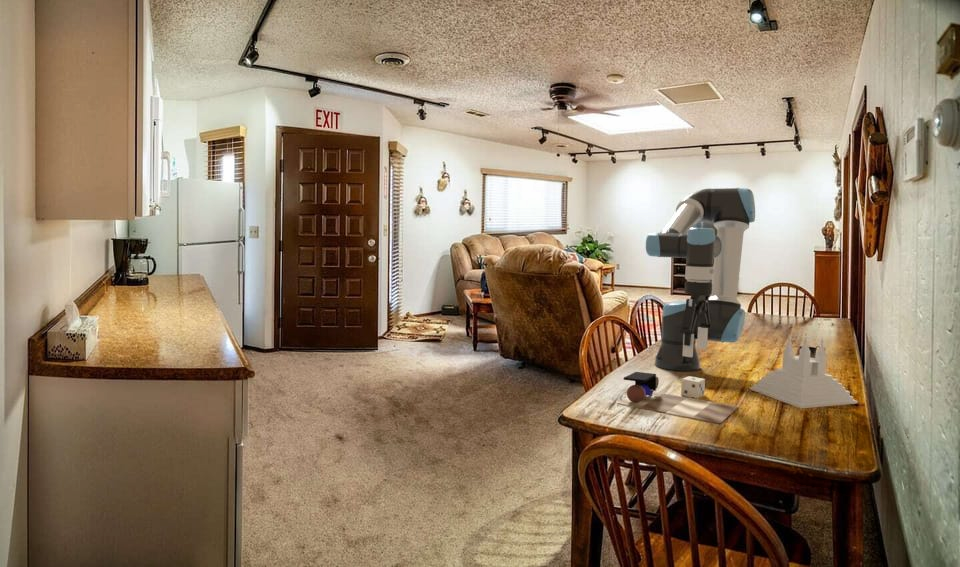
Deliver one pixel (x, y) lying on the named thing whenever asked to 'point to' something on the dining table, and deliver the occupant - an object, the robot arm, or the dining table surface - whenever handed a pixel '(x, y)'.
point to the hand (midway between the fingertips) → (694, 352)
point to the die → (693, 387)
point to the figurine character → (641, 385)
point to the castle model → (804, 380)
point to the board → (683, 407)
